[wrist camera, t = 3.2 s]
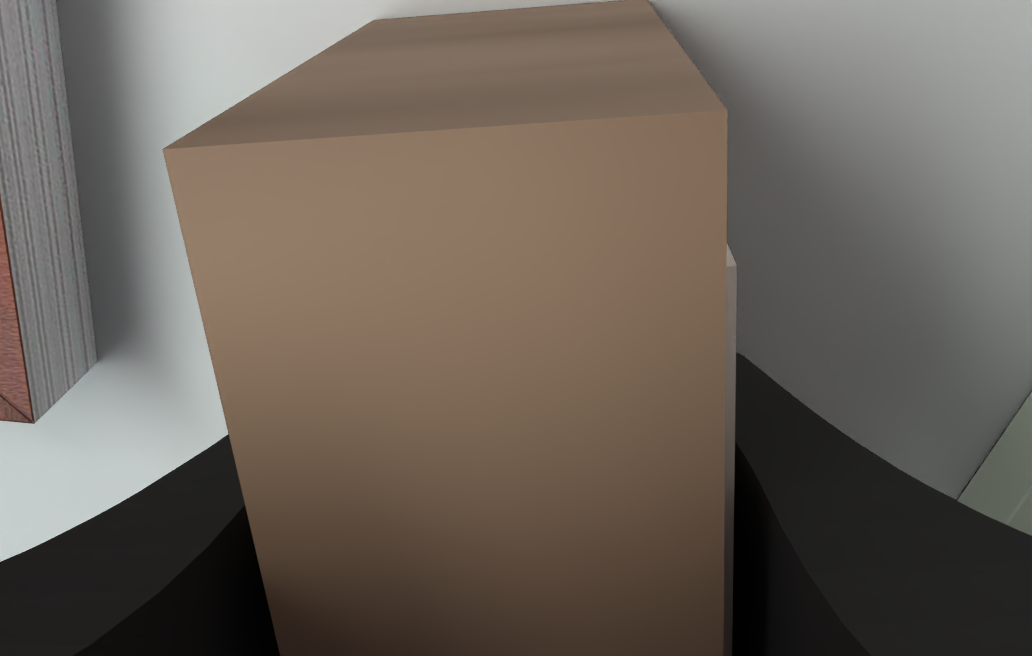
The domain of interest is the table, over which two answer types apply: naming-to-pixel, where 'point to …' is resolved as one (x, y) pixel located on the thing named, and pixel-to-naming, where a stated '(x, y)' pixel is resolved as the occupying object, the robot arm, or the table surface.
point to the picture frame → (38, 221)
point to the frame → (478, 336)
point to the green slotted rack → (1006, 476)
